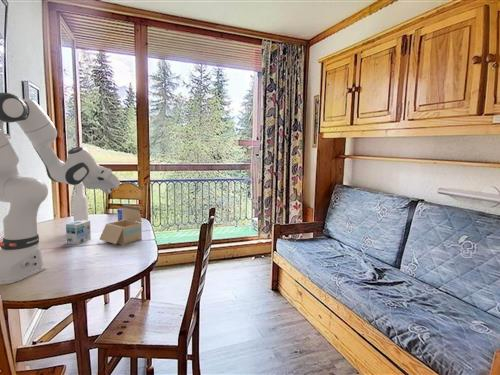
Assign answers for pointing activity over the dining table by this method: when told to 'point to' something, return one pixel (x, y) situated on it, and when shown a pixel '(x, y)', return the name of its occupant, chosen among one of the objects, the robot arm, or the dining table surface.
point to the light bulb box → (78, 232)
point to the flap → (132, 213)
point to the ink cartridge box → (121, 214)
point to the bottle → (80, 204)
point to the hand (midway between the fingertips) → (108, 192)
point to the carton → (122, 232)
